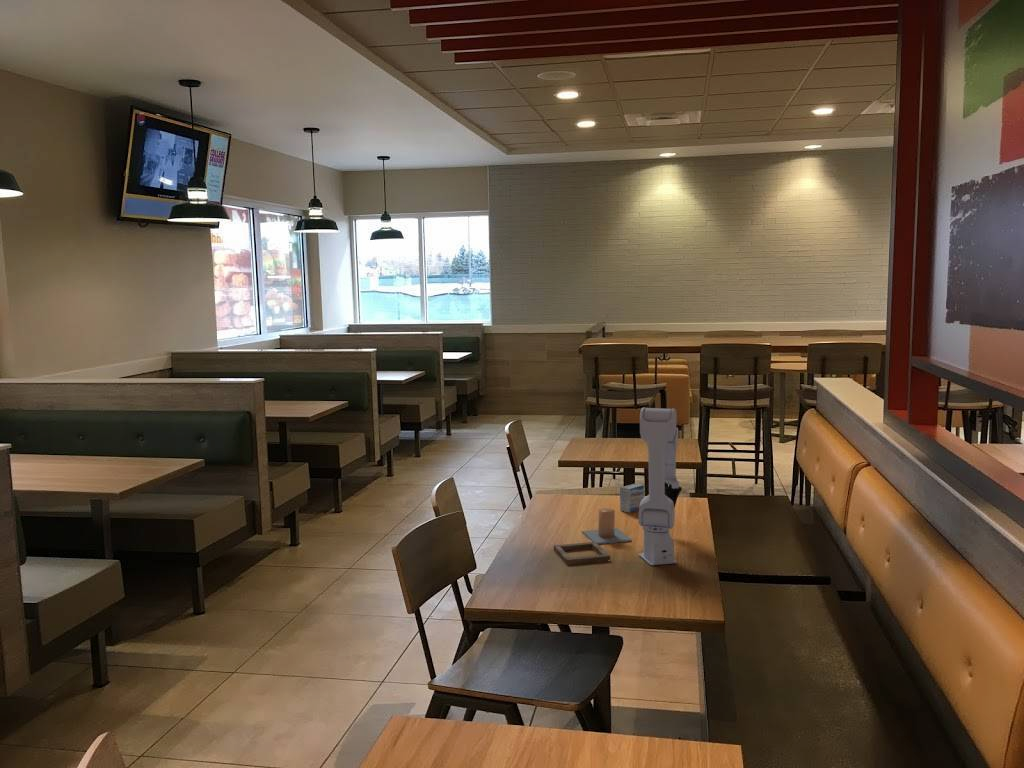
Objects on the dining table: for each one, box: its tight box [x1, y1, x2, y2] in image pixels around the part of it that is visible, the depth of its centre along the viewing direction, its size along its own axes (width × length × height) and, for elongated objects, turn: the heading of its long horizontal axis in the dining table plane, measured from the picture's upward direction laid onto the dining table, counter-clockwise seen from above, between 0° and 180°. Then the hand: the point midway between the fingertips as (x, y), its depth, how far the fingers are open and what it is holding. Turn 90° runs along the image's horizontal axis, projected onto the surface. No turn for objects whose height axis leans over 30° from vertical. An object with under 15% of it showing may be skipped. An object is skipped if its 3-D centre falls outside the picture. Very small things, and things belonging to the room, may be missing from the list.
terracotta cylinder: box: [597, 507, 616, 538], centre depth 255 cm, size 5×5×8 cm
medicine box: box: [619, 483, 645, 514], centre depth 285 cm, size 8×4×9 cm, turn 131°
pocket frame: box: [553, 541, 611, 566], centre depth 239 cm, size 13×13×2 cm
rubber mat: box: [581, 527, 633, 545], centre depth 256 cm, size 12×12×1 cm
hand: (665, 505), depth 257 cm, fingers open, 7 cm apart
